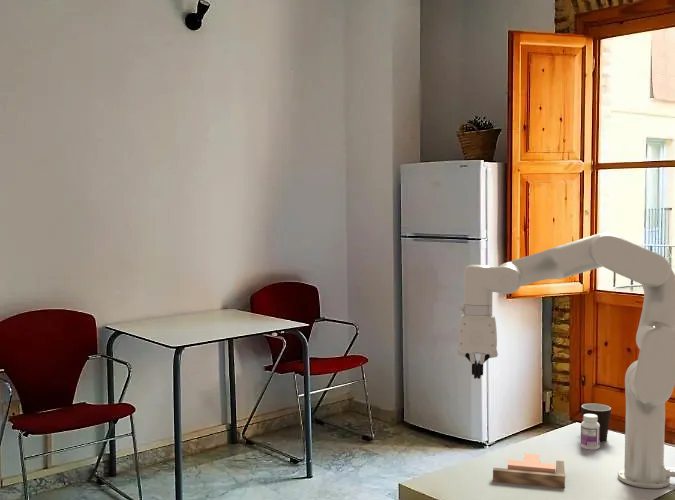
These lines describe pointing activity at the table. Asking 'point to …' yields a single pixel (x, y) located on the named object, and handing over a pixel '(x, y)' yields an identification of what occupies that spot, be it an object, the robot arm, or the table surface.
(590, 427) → the pill bottle
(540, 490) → the table surface
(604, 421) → the coffee mug
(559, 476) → the walnut fence
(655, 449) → the robot arm
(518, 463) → the t block
